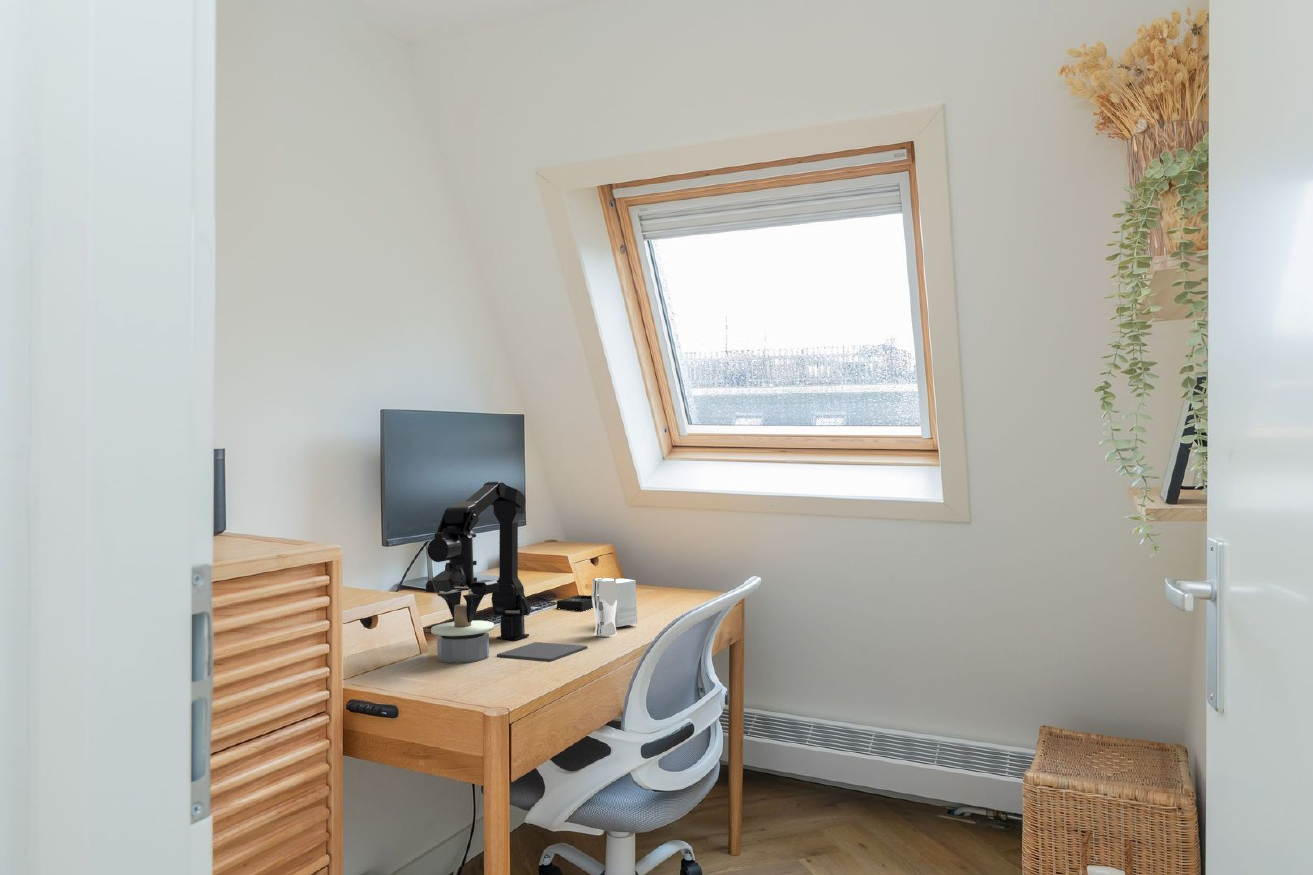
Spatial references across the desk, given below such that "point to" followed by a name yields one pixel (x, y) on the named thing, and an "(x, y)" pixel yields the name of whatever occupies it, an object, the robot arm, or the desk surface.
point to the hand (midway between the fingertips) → (462, 621)
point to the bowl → (463, 648)
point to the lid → (461, 624)
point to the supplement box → (626, 603)
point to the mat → (542, 651)
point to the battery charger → (576, 603)
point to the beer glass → (604, 606)
